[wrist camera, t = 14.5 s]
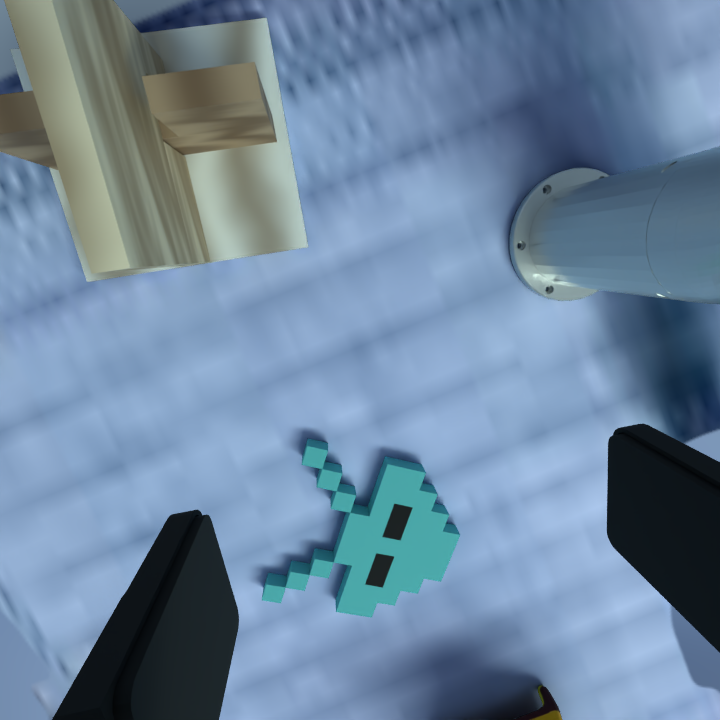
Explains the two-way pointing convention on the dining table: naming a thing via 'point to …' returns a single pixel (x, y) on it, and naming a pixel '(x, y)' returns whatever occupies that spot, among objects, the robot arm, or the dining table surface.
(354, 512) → the alien figure
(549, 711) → the decorative lantern
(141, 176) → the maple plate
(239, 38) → the cross base
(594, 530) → the dining table surface
